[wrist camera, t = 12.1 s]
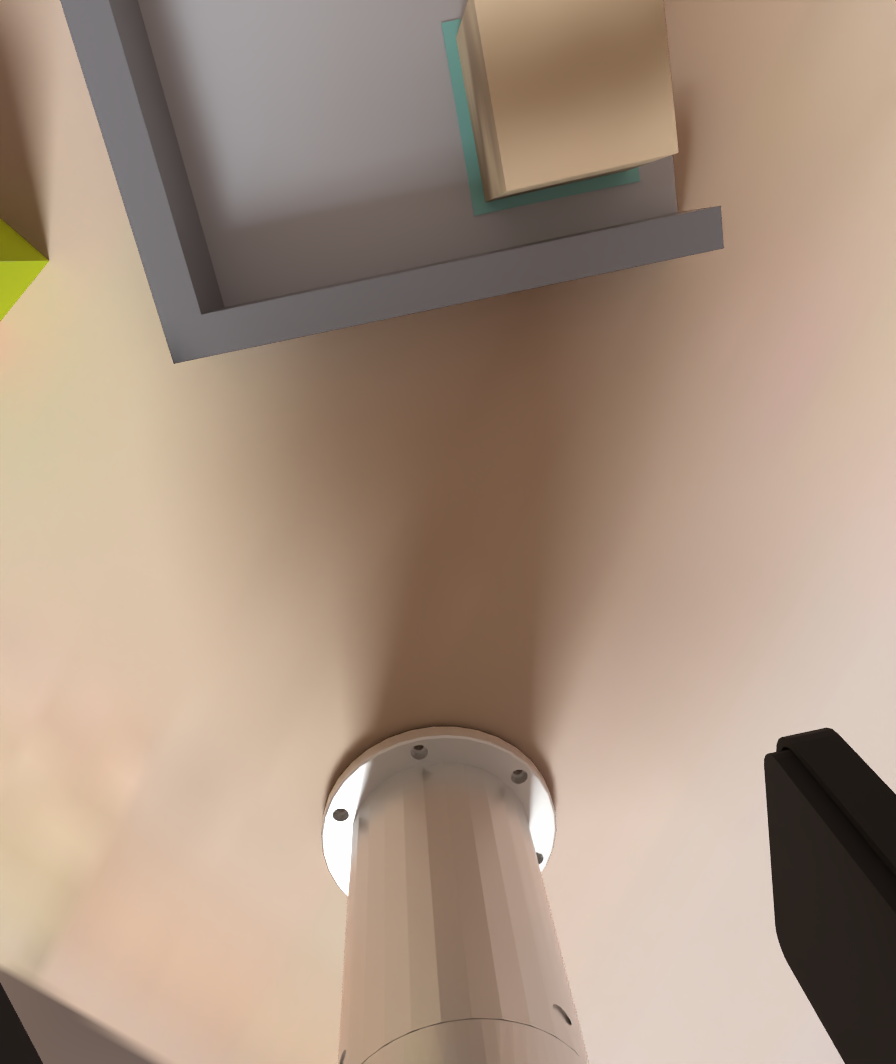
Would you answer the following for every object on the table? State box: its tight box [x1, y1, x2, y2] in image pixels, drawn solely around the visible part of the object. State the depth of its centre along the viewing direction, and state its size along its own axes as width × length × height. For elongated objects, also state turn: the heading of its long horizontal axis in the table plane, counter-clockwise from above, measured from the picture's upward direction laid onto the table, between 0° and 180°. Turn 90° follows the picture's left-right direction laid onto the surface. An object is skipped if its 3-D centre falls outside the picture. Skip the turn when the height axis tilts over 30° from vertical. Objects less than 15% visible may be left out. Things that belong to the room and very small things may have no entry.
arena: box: [60, 0, 724, 364], centre depth 29 cm, size 18×21×5 cm
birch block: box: [456, 0, 679, 202], centre depth 29 cm, size 6×6×6 cm
